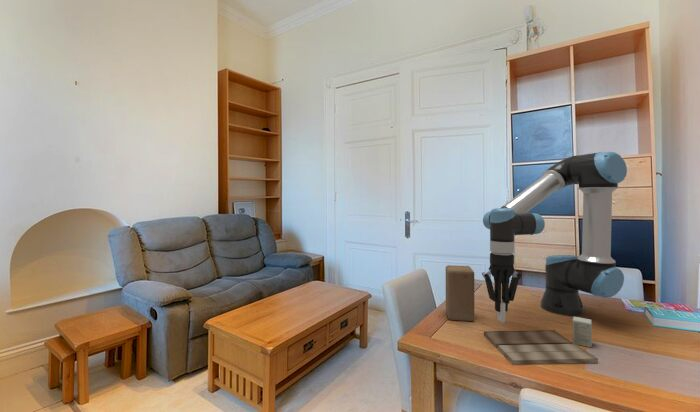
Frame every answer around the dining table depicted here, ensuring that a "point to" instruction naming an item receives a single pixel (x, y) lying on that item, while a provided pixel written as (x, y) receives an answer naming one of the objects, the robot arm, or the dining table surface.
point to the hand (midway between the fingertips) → (501, 320)
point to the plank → (525, 337)
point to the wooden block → (460, 293)
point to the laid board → (546, 354)
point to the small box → (582, 331)
